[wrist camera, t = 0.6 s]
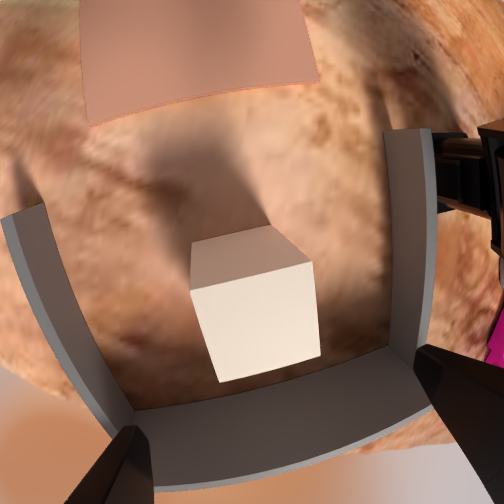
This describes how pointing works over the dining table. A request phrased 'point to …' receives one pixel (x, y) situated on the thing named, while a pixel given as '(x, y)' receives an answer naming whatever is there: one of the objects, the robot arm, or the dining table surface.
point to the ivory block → (254, 302)
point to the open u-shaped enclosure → (270, 397)
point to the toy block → (497, 344)
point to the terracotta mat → (187, 51)
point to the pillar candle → (502, 272)
